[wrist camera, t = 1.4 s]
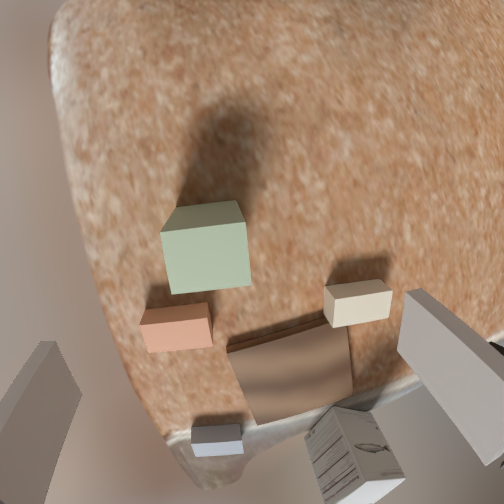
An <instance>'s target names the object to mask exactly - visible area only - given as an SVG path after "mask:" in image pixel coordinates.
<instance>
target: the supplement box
mask: <svg viewBox="0 0 504 504" xmlns="http://www.w3.org/2000/svg"><path fill="white" fill-rule="evenodd" d="M304 440H305V443H306V447H307V450H308V453H309V456H310V460H311V462H312V466H313V469H314V472H315V476H316V479H317V482H318V485H319V489H320V491H321V495H322V498H323V501H324V504H373V503H375V502H376V501H378V500H379V499H381V498H382V497H383V496H385V495H386V494H387V493H388V492H390V491H391V490H392V489H394V488H395V487H396V486H397V485H399V484H400V483H401V482H402V481H403V480H405V479H406V476H405V475H404V473H403V471H402V469H401V467H400V465H399V463H398V461H397V459H396V458H395V456H394V454H393V452H392V450H391V448H390V446H389V445H388V443H387V441H386V439H385V437H384V435H383V433H382V432H381V430H380V428H379V426H378V424H377V422H376V421H375V419H374V417H373V415H372V414H371V412H363V411H356V410H351V409H345V408H340V407H336V406H333V407H331V409H330V410H329V411H328V412H327V413H326V414H325V415H324V416H323V417H322V418H321V420H320V421H319V422H318V423H317V424H316V425H315V426H314V427H313V428H312V429H311V430H310V431H309V433H308V434H307V435H306V436H305V437H304Z"/></svg>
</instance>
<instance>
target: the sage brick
mask: <svg viewBox="0 0 504 504" xmlns="http://www.w3.org/2000/svg"><path fill="white" fill-rule="evenodd" d="M160 236H161V242H162V247H163V253H164V258H165V264H166V269H167V274H168V279H169V284H170V289H171V294H182V293H191V292H199V291H208V290H217V289H225V288H233V287H241V286H249V285H251V274H250V264H249V253H248V242H247V231H246V222H245V219H244V217H243V215H242V213H241V210H240V208H239V206H238V204H237V201H236V200H232V201H223V202H215V203H206V204H198V205H190V206H182V207H176V208H175V209H174V211H173V213H172V214H171V216H170V217H169V219H168V220H167V222H166V224H165V225H164V227H163V228H162V230H161V232H160Z"/></svg>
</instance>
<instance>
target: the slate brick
mask: <svg viewBox="0 0 504 504" xmlns="http://www.w3.org/2000/svg"><path fill="white" fill-rule="evenodd" d="M191 445H192V448H193V451H194V453H195V456H196V457H199V456H218V455H231V454H241V453H244V452H243V444H242V437H241V430H240V423H239V424H229V425H216V426H200V427H191Z"/></svg>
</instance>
